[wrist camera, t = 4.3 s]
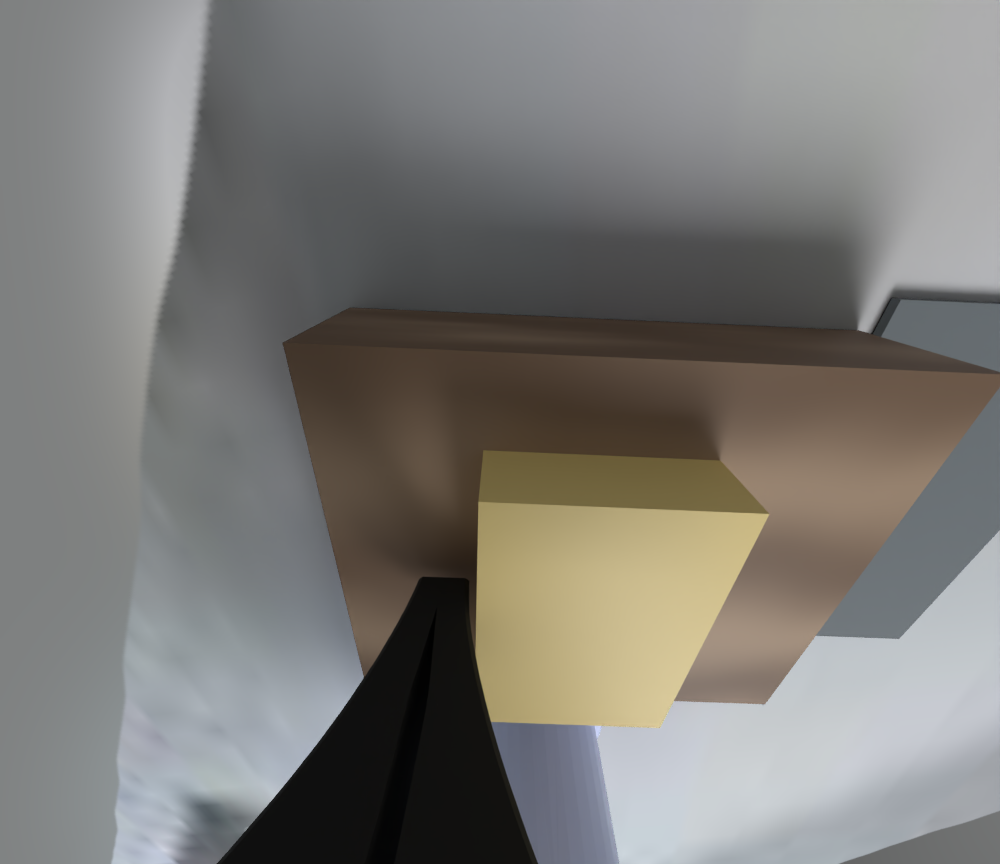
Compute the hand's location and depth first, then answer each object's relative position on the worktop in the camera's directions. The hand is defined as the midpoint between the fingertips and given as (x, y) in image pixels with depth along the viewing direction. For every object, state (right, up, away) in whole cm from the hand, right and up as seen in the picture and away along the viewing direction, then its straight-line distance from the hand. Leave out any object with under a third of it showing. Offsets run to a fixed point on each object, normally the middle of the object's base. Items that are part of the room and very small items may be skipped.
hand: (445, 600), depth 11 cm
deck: (+5, +2, +4) cm, 7 cm away
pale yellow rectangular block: (+4, 0, +1) cm, 4 cm away
